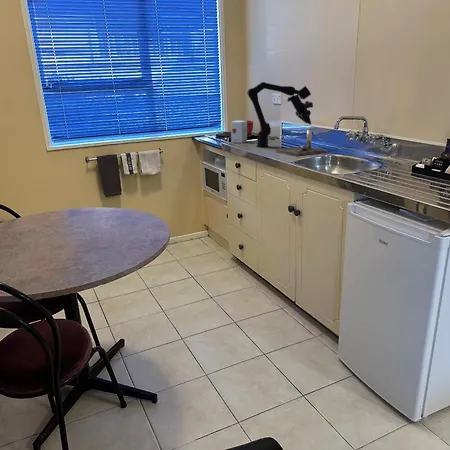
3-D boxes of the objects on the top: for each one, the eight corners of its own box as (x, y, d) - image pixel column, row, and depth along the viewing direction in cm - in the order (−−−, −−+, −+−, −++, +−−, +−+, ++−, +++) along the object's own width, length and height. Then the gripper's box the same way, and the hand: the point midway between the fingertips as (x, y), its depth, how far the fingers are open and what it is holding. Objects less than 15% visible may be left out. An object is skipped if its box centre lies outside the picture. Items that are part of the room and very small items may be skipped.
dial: (301, 151, 257) (302, 133, 253) (294, 151, 259) (295, 132, 255) (312, 147, 272) (313, 130, 268) (306, 146, 274) (307, 129, 270)
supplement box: (230, 142, 310) (230, 121, 305) (236, 140, 317) (236, 120, 312) (242, 143, 306) (242, 121, 301) (247, 141, 313) (247, 120, 308)
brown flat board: (295, 156, 254) (295, 153, 254) (276, 152, 269) (276, 149, 268) (324, 152, 267) (324, 149, 266) (304, 148, 281) (304, 145, 280)
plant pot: (233, 136, 341) (233, 120, 337) (248, 135, 346) (248, 120, 342) (241, 138, 330) (241, 122, 326) (255, 137, 335) (256, 121, 331)
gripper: (311, 97, 272) (323, 118, 276) (304, 96, 289) (315, 115, 294) (296, 107, 273) (308, 127, 278) (290, 105, 290) (301, 124, 295)
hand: (308, 123), depth 286 cm, fingers open, 9 cm apart
